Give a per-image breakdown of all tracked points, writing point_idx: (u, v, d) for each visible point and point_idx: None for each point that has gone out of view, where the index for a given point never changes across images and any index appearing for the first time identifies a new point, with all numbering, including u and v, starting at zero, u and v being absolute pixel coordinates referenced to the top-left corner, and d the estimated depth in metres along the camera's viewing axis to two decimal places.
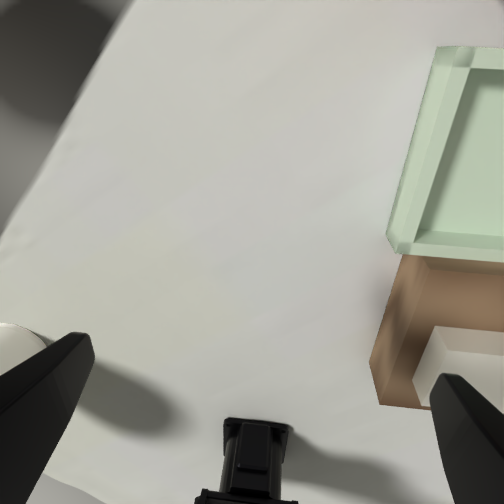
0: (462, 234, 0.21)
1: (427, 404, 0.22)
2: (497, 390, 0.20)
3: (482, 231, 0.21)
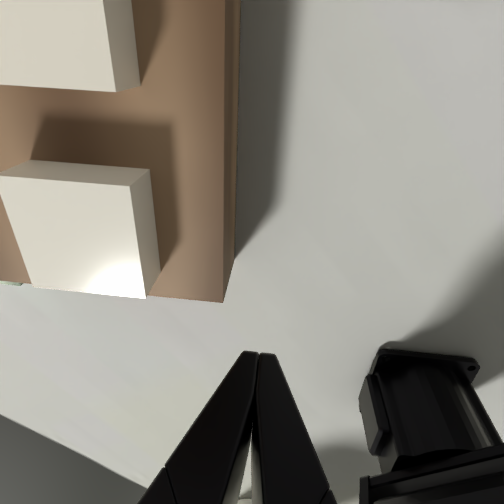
0: None
1: (140, 292, 0.14)
2: (76, 212, 0.13)
3: None
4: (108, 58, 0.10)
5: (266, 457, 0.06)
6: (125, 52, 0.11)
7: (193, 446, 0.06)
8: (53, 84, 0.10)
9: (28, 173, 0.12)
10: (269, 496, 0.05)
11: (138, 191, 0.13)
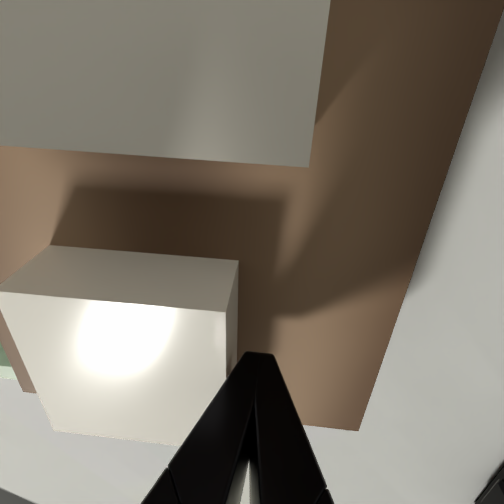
0: None
1: None
2: (130, 344, 0.08)
3: None
4: (308, 104, 0.05)
5: (264, 456, 0.06)
6: None
7: (196, 446, 0.06)
8: (183, 152, 0.05)
9: (50, 282, 0.08)
10: (266, 495, 0.05)
11: (230, 307, 0.08)
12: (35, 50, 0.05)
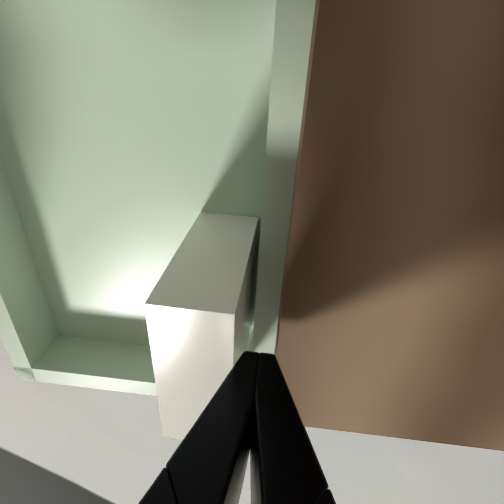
0: None
1: None
2: None
3: None
4: None
5: (265, 457, 0.06)
6: None
7: (194, 446, 0.06)
8: None
9: (206, 226, 0.11)
10: (268, 496, 0.05)
11: (176, 323, 0.08)
12: None
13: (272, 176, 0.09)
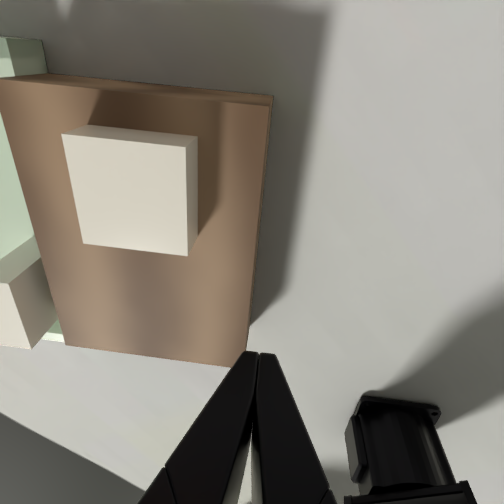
0: None
1: None
2: None
3: None
4: (185, 238, 0.15)
5: (266, 457, 0.06)
6: (193, 226, 0.16)
7: (193, 446, 0.06)
8: (146, 249, 0.16)
9: (29, 244, 0.22)
10: (269, 496, 0.05)
11: None
12: (99, 219, 0.15)
13: None
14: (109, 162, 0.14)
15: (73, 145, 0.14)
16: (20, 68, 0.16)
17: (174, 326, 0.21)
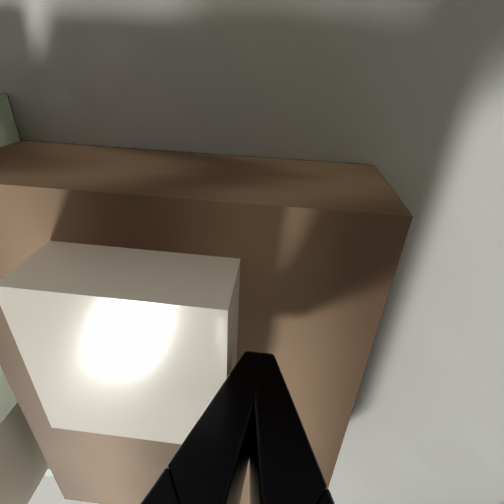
0: None
1: None
2: None
3: None
4: None
5: (264, 457, 0.06)
6: None
7: (196, 446, 0.06)
8: (155, 438, 0.09)
9: None
10: (267, 496, 0.05)
11: None
12: (75, 400, 0.09)
13: None
14: (86, 328, 0.07)
15: (17, 302, 0.07)
16: None
17: None
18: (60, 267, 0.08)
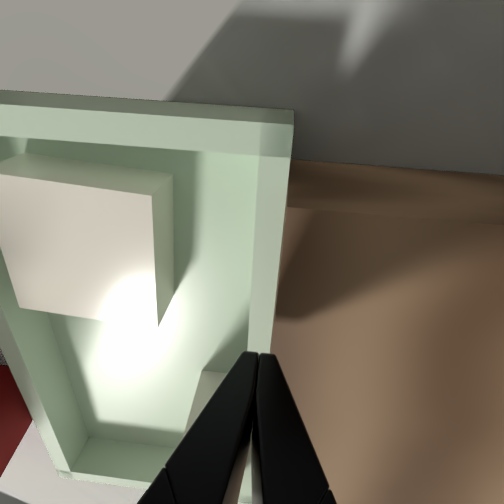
0: None
1: None
2: None
3: None
4: None
5: (266, 457, 0.06)
6: None
7: (193, 446, 0.06)
8: None
9: (206, 390, 0.15)
10: (269, 496, 0.05)
11: None
12: None
13: None
14: None
15: None
16: None
17: None
18: (133, 178, 0.10)
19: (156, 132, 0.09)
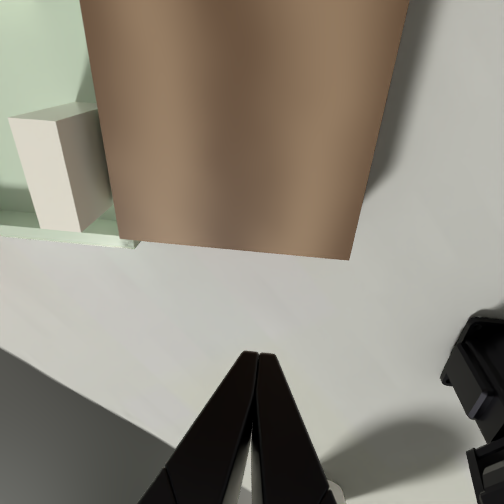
0: None
1: None
2: None
3: None
4: None
5: (266, 457, 0.06)
6: None
7: (193, 446, 0.06)
8: None
9: (72, 105, 0.17)
10: (269, 496, 0.05)
11: (27, 130, 0.14)
12: None
13: None
14: None
15: None
16: None
17: (265, 198, 0.16)
18: None
19: None
